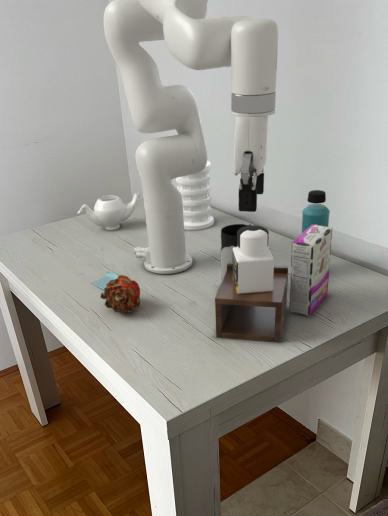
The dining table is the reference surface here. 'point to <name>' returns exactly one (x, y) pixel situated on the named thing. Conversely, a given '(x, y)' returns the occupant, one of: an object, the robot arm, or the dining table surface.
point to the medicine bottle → (252, 261)
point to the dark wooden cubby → (252, 309)
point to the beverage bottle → (315, 210)
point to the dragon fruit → (122, 294)
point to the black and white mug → (228, 245)
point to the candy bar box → (310, 269)
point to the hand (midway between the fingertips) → (251, 202)
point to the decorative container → (196, 199)
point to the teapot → (110, 211)
